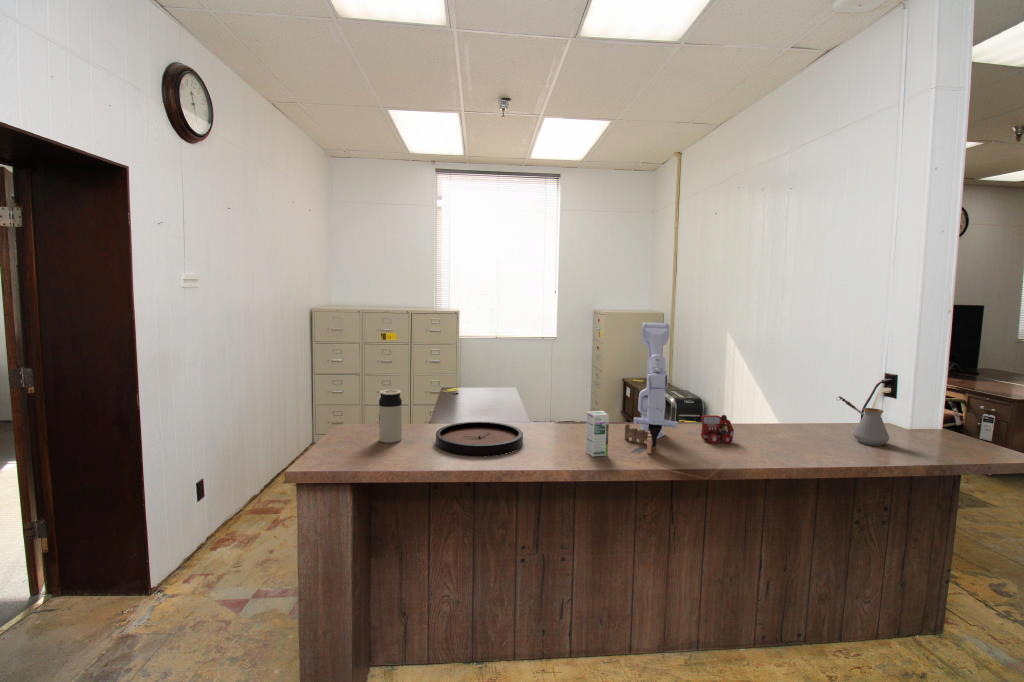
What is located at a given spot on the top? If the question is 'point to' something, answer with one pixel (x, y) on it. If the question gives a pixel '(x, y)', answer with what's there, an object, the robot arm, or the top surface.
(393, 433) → the travel mug
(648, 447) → the folding fence panel
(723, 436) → the toy fire truck
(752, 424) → the top surface
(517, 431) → the wall clock
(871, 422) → the coffee pot
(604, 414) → the syrup box
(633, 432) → the fixed fence section
